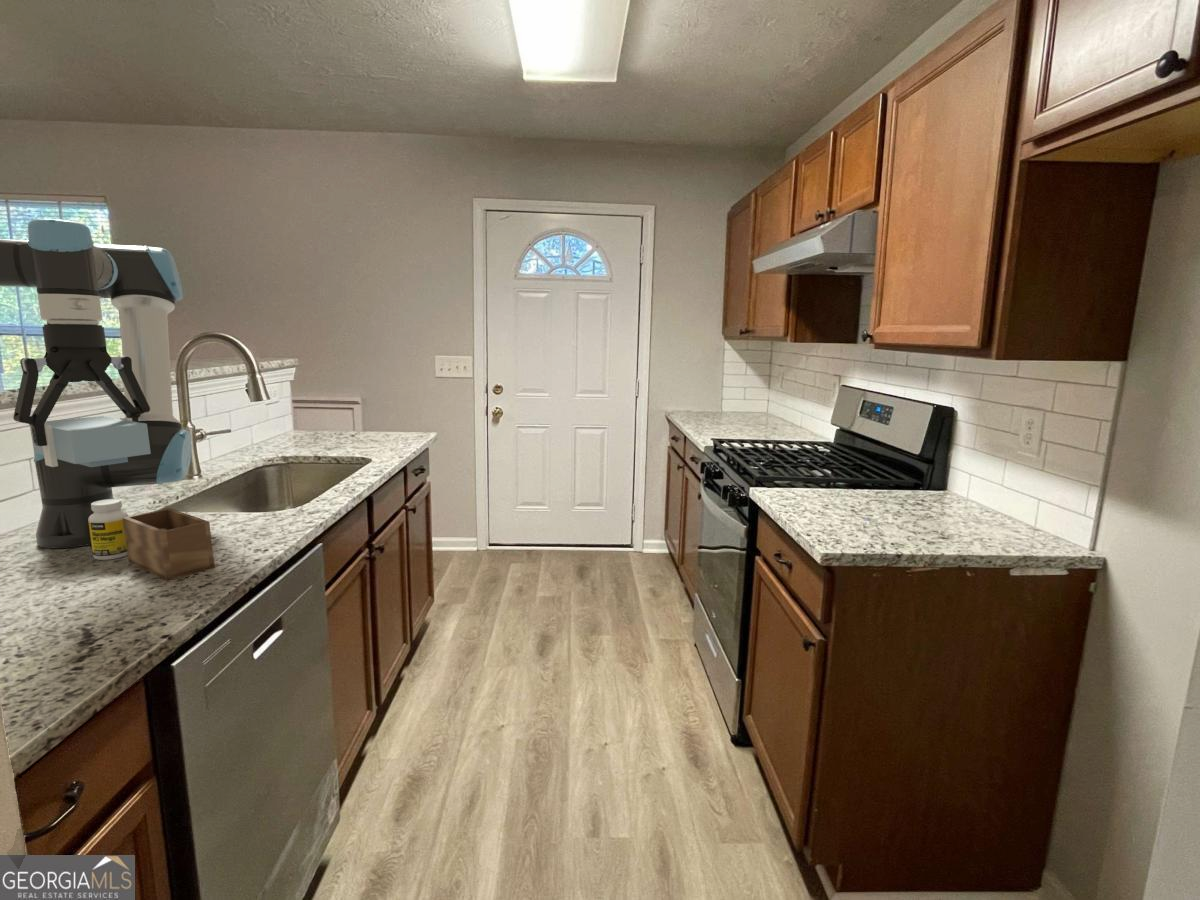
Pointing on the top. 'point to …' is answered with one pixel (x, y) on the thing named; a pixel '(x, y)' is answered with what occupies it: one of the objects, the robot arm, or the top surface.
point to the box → (168, 543)
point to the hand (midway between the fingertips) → (93, 460)
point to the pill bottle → (107, 529)
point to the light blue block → (97, 440)
